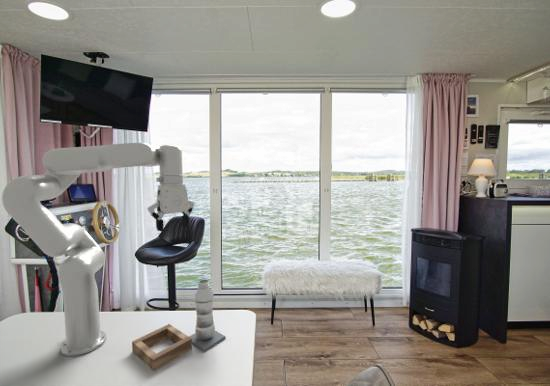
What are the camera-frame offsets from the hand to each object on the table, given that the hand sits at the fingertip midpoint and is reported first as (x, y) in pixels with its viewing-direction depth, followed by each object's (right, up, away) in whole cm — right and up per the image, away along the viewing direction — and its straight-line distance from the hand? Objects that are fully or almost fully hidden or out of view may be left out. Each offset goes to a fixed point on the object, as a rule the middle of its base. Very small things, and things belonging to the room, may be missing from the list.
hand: (173, 228), depth 97 cm
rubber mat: (+12, -39, -2) cm, 40 cm away
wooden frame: (-1, -39, -8) cm, 40 cm away
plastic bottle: (+12, -38, -2) cm, 40 cm away
